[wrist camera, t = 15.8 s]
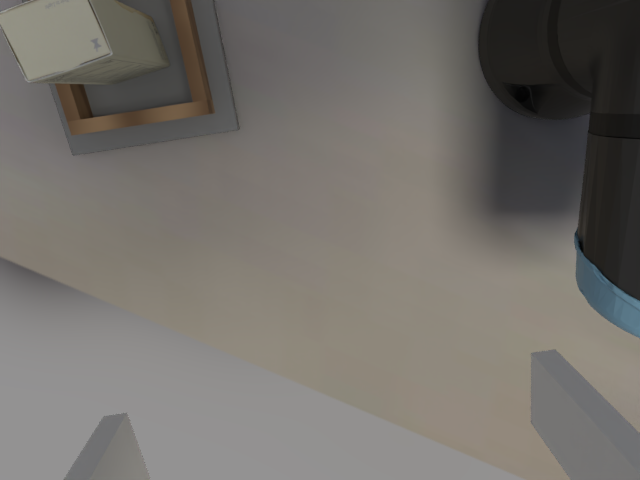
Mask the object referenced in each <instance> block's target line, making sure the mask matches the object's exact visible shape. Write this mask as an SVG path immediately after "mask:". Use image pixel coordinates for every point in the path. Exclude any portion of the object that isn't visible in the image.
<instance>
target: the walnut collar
mask: <svg viewBox="0 0 640 480" xmlns="http://www.w3.org/2000/svg"><path fill="white" fill-rule="evenodd" d="M28 1H30V0H28ZM170 4H171V8H172V13H173V17H174V21H175V26H176V30H177V34H178V39H179V43H180V47H181V52H182V56H183V60H184V65H185V69H186V73H187V78H188V82H189V87H190V91H191V95H192V100H193V102H190V103H184V104H178V105H171V106H165V107H158V108H152V109H145V110H139V111H133V112H126V113H120V114H113V115H107V116H100V117H93V114H92V111H91V108H90V104H89V101H88V98H87V94H86V91H85V88H84V84H60V83H55V86H56V89H57V92H58V95H59V98H60V102H61V105H62V108H63V111H64V114H65V117H66V120H67V123H68V126H69V129H70V132H71V136H72V135H79V134H85V133H92V132H98V131H105V130H111V129H118V128H124V127H130V126H137V125H143V124H150V123H156V122H163V121H169V120H175V119H182V118H188V117H195V116H201V115H208V114H214V113H215V110H214V105H213V100H212V96H211V91H210V86H209V82H208V77H207V72H206V68H205V63H204V59H203V54H202V49H201V45H200V40H199V35H198V31H197V26H196V21H195V17H194V12H193V8H192V3H191V0H170Z"/></svg>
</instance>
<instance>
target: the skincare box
mask: <svg viewBox="0 0 640 480" xmlns="http://www.w3.org/2000/svg"><path fill="white" fill-rule="evenodd" d="M0 28H1V30H2V32H3V35H4V37H5V39H6V41H7V43H8V45H9V47H10V49H11V51H12V54H13V56H14V58H15V60H16V62H17V64H18V66H19V68H20V70H21V72H22V74H23V76H24V78H25V80H26V81H27V82H29V83H60V84H99V85H112V84H115V83H119V82H122V81H126V80H129V79H132V78H135V77H139V76H142V75H145V74H148V73H151V72H154V71H157V70H160V69H162V68H165V67H168V66H170V63H169V60H168V57H167V55H166V52H165V49H164V46H163V44H162V41H161V38H160V36H159V33H158V31H157V28H156V26H155V23H154V21H153V19H152V17H151V16H149V15H147V14H144V13H142V12H140V11H138V10H136V9H134V8H131V7H129V6H127V5H125V4H123V3H121V2H118V1H116V0H30V1H27V2H25V3H22V4H19V5H17V6H14V7H11V8H9V9H6V10H3V11H1V12H0Z"/></svg>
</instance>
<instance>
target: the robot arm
mask: <svg viewBox="0 0 640 480" xmlns="http://www.w3.org/2000/svg"><path fill="white" fill-rule="evenodd" d="M479 55H480V61H481V66H482V70H483V73H484V76H485V78H486V80H487V82H488V84H489V86H490V88H491V89H492V91H493V92H494V94H495V95H496V96H497V97H498V98H499V99H500V100H501V101H502V102H503V103H504V104H505V105H506V106H508V107H509V108H510V109H512V110H514V111H516V112H518V113H520V114H522V115H525V116H528V117H532V118H539V119H552V120H561V119H569V118H575V117H579V116H582V115H585V114H588V113H590V122H589V131H588V138H587V149H586V159H585V168H584V177H583V185H582V194H581V203H580V212H579V221H578V228H577V230H576V232H575V236H574V243H575V248H576V250H577V257H576V281H577V285H578V288H579V290H580V291H581V293H582V294H583V295H584V296H585V298H586V300H587V301H588V303H589V304H590V306H591V307H592V308H593V309H594V310H596V311H597V312H598V313H599V314H600V315H601V316H603V317H604V318H605V319H607V320H608V321H610V322H611V323H613V324H614V325H616V326H617V327H619V328H621V329H623V330H624V331H626V332H628V333H630V334H632V335H634V336H636V337H639V338H640V0H489V1H488V4H487V6H486V9H485V12H484V15H483V18H482V22H481V27H480V34H479ZM531 424H532V425H533V426H534V428H535V429H536V431H537V432H538V434H539V435H540V436H541V438H542V439H543V441H544V442H545V444H546V445H547V446H548V448H549V449H550V451H551V452H552V454H553V455H554V456H555V458H556V459H557V461H558V462H559V463H560V465H561V466H562V468H563V469H564V471H565V472H566V473H567V475H568V476H569V478H570V479H571V480H640V433H639V432H638V431H637V430H636V429H635V428H634V427H633V426H632V425H631V424H630V423H629V422H628V421H627V420H626V419H625V418H624V417H623V416H622V415H621V414H620V413H619V412H618V411H617V410H616V409H615V408H614V407H613V406H612V405H611V404H610V403H609V402H608V401H607V400H606V399H605V398H604V397H603V396H602V395H601V394H600V393H599V392H598V391H597V390H596V389H595V388H594V387H593V386H592V385H591V384H590V383H589V382H588V381H587V380H586V379H585V378H583V377H582V376H581V375H580V374H579V373H578V372H577V371H576V370H575V369H574V368H573V367H572V366H571V365H570V364H569V363H568V362H567V361H566V360H565V359H564V358H563V357H562V356H561V355H560V354H559V353H558V352H557V351H556V350H548V351H541V352H535V353H531ZM64 480H150V476H149V473H148V470H147V468H146V465H145V462H144V459H143V456H142V454H141V451H140V448H139V445H138V442H137V440H136V437H135V434H134V431H133V428H132V426H131V423H130V420H129V417H128V414H127V413H123V414H116V415H109V416H104V417H103V418H102V420H101V421H100V423H99V425H98V426H97V428H96V429H95V431H94V433H93V434H92V436H91V437H90V439H89V440H88V442H87V443H86V445H85V447H84V448H83V450H82V451H81V453H80V455H79V456H78V458H77V459H76V461H75V463H74V464H73V466H72V467H71V469H70V470H69V472H68V474H67V475H66V477H65V478H64Z"/></svg>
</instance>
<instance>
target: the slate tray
mask: <svg viewBox="0 0 640 480" xmlns="http://www.w3.org/2000/svg"><path fill="white" fill-rule="evenodd" d="M27 1H28V0H22V2H23V3H25V2H27ZM116 1H118V2H121V3H123V4H125V5H127V6H129V7H131V8H134V9H136V10H138V11H140V12H142V13H144V14H147V15H149V16H151V17H152V19H153V21H154V23H155V26H156V28H157V31H158V33H159V36H160V38H161V41H162V44H163V46H164V49H165V52H166V55H167V57H168V60H169V63H170V66H168V67H165V68H162V69H160V70H157V71H154V72H151V73H148V74H145V75H142V76H139V77H135V78H132V79H129V80H126V81H122V82H119V83H115V84H112V85H99V84H84V88H85V91H86V94H87V98H88V101H89V104H90V108H91V111H92V114H93V117H100V116H107V115H113V114H120V113H126V112H133V111H139V110H145V109H152V108H158V107H165V106H171V105H178V104H184V103H190V102H193V100H192V95H191V91H190V87H189V82H188V78H187V73H186V69H185V65H184V60H183V56H182V52H181V47H180V43H179V39H178V34H177V30H176V26H175V21H174V17H173V13H172V8H171V4H170V0H116ZM191 3H192V8H193V12H194V17H195V21H196V26H197V31H198V35H199V40H200V45H201V49H202V54H203V59H204V63H205V68H206V72H207V77H208V82H209V86H210V91H211V96H212V100H213V105H214V110H215V113H214V114H208V115H201V116H195V117H188V118H182V119H175V120H169V121H163V122H156V123H150V124H143V125H137V126H130V127H124V128H118V129H111V130H105V131H98V132H92V133H85V134H79V135H72V136H71V132H70V129H69V126H68V123H67V120H66V117H65V114H64V111H63V108H62V105H61V102H60V98H59V95H58V92H57V89H56V86H55V83H49V85H50V88H51V91H52V94H53V97H54V100H55V103H56V106H57V109H58V112H59V115H60V118H61V121H62V124H63V127H64V131H65V134H66V137H67V140H68V143H69V146H70V149H71V152H72V155H80V154H86V153H93V152H99V151H106V150H112V149H118V148H125V147H131V146H138V145H144V144H151V143H157V142H164V141H170V140H177V139H183V138H190V137H196V136H202V135H209V134H215V133H222V132H228V131H235V130H239V129H240V128H239V123H238V118H237V113H236V108H235V103H234V98H233V93H232V88H231V83H230V78H229V73H228V68H227V63H226V58H225V53H224V48H223V43H222V38H221V33H220V29H219V24H218V19H217V14H216V9H215V4H214V0H191Z"/></svg>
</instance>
